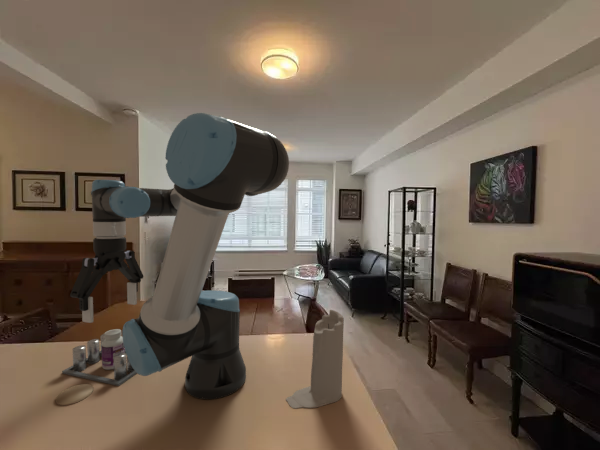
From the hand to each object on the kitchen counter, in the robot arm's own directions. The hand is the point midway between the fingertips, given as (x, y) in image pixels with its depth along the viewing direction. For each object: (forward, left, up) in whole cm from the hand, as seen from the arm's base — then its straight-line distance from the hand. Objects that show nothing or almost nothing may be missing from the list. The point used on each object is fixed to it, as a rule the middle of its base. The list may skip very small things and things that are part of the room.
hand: (111, 312), depth 79 cm
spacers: (0, 0, -15) cm, 15 cm away
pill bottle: (0, 0, -15) cm, 15 cm away
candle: (-58, -3, -15) cm, 60 cm away
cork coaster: (-3, +13, -15) cm, 20 cm away
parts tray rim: (0, 0, -15) cm, 15 cm away
